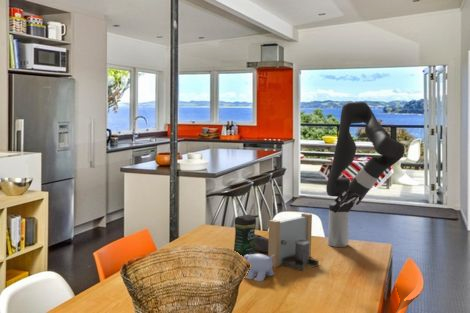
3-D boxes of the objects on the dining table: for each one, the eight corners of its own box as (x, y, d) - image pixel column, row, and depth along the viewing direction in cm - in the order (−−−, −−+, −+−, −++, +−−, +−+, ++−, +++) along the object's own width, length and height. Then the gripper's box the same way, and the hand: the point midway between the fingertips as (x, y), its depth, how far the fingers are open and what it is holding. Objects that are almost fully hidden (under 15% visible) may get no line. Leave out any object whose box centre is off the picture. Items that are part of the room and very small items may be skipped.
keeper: (299, 259, 201) (300, 252, 201) (318, 265, 194) (318, 258, 194) (282, 265, 194) (282, 258, 193) (301, 271, 186) (301, 263, 186)
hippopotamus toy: (248, 268, 189) (248, 245, 188) (280, 275, 181) (280, 252, 180) (233, 275, 180) (233, 251, 180) (265, 283, 172) (266, 258, 171)
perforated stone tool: (279, 254, 209) (279, 239, 208) (271, 256, 206) (271, 241, 205) (255, 247, 220) (256, 232, 220) (247, 249, 217) (248, 234, 216)
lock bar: (300, 262, 196) (301, 239, 196) (309, 264, 193) (309, 241, 193) (294, 264, 193) (295, 241, 193) (302, 267, 190) (303, 243, 189)
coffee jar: (244, 260, 199) (244, 218, 197) (230, 256, 204) (231, 215, 202) (258, 256, 206) (259, 215, 204) (245, 252, 211) (245, 212, 209)
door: (303, 254, 209) (304, 213, 208) (311, 256, 206) (313, 214, 204) (268, 264, 193) (269, 220, 192) (276, 267, 190) (277, 222, 188)
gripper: (366, 175, 186) (343, 204, 193) (347, 174, 176) (323, 204, 183) (379, 188, 181) (355, 217, 188) (360, 187, 172) (335, 218, 179)
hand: (339, 211), depth 186 cm, fingers open, 8 cm apart
